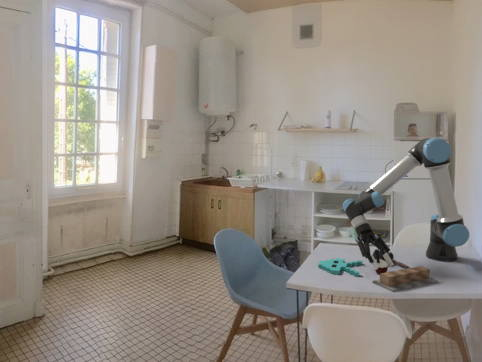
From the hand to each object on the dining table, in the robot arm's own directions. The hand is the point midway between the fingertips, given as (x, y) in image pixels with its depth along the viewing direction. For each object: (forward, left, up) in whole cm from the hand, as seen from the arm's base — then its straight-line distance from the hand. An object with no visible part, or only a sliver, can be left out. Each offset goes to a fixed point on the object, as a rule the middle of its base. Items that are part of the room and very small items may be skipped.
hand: (384, 267), depth 186 cm
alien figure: (+11, -18, -5) cm, 22 cm away
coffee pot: (-14, -11, -5) cm, 19 cm away
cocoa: (-1, -3, -4) cm, 5 cm away
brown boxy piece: (-2, +11, -4) cm, 12 cm away
